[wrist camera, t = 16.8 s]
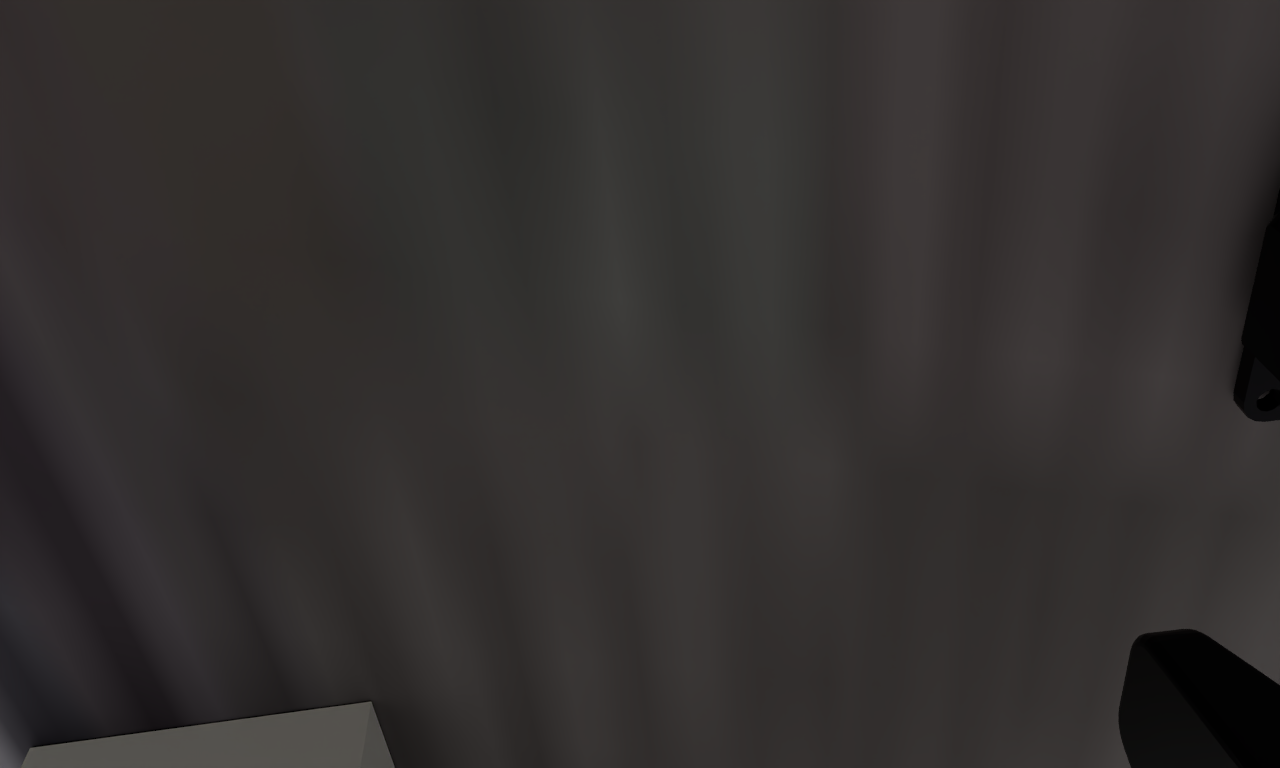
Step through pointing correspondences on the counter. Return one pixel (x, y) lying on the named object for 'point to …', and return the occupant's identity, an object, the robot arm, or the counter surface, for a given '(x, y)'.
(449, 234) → the counter surface
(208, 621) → the counter surface
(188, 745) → the matte gray cube
